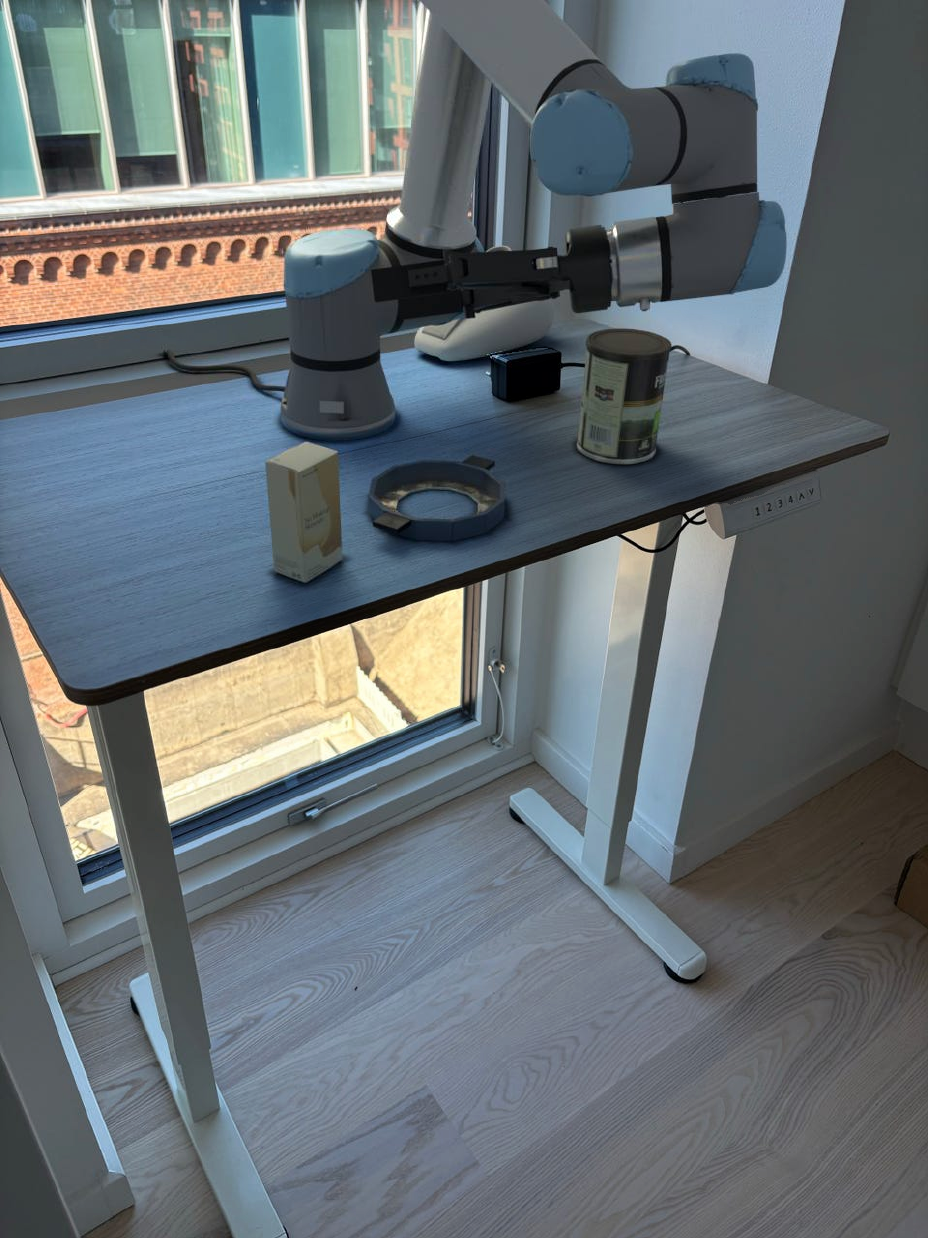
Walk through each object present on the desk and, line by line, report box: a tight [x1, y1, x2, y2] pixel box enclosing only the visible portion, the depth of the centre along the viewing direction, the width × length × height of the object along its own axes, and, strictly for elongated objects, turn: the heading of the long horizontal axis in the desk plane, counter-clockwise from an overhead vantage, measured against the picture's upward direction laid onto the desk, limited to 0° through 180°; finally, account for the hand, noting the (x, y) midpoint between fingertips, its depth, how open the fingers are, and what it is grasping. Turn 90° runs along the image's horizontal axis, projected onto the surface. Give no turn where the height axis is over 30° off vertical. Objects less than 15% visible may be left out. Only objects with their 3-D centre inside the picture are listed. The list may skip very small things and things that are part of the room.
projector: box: [414, 245, 555, 362], centre depth 154 cm, size 22×23×15 cm
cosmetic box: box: [264, 441, 343, 584], centre depth 96 cm, size 6×4×12 cm
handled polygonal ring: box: [368, 454, 506, 542], centre depth 110 cm, size 15×20×2 cm
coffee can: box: [576, 327, 673, 465], centre depth 121 cm, size 10×10×14 cm
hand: (386, 296), depth 93 cm, fingers open, 13 cm apart
